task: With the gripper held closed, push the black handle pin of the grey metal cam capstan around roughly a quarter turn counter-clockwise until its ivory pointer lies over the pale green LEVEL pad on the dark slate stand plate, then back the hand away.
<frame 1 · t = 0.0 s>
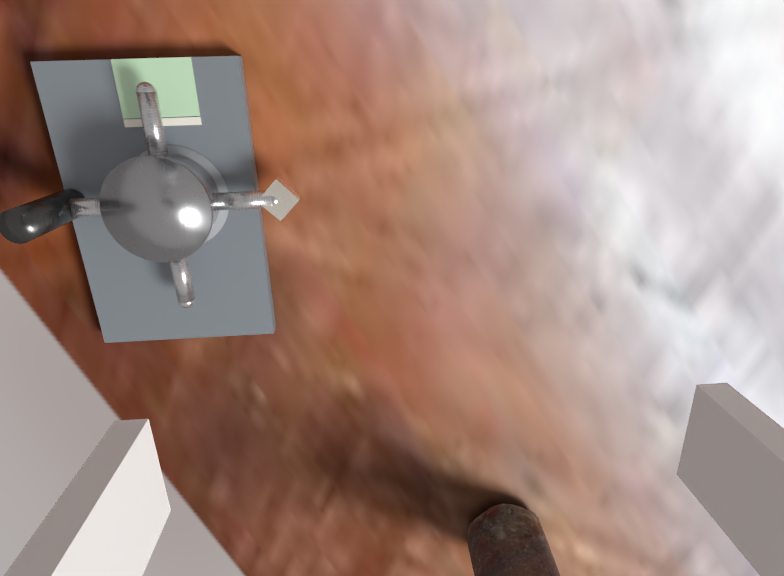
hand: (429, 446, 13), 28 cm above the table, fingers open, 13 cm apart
candle: (499, 522, 51), on the table
stand plate: (171, 208, 38), on the table
cam capstan: (166, 208, 33), point 5 cm above the table, hinge at 0.0°
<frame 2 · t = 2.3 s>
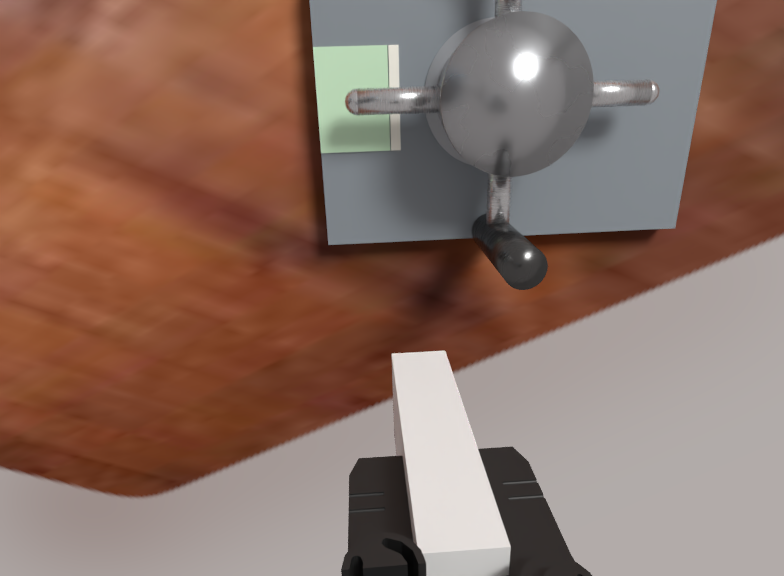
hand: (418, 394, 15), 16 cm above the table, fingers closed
stand plate: (505, 114, 28), on the table
cam capstan: (513, 88, 23), point 5 cm above the table, hinge at 0.0°
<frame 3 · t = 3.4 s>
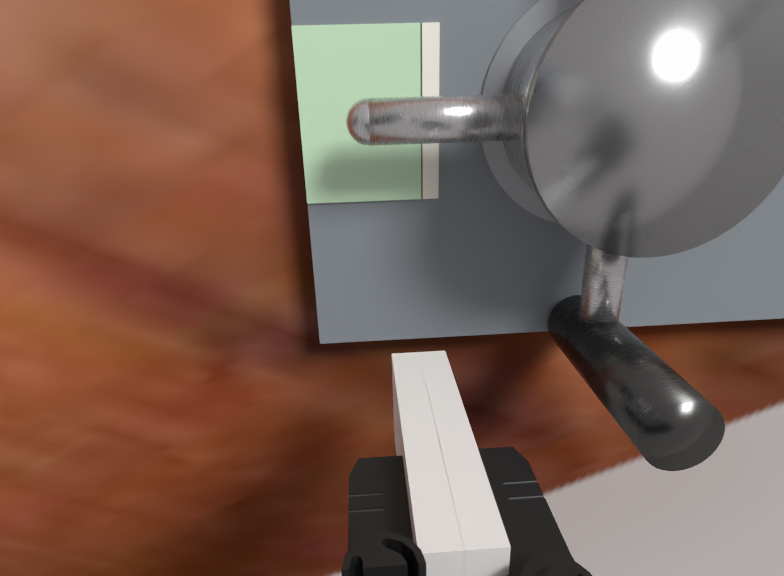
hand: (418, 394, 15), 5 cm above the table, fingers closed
stand plate: (605, 139, 17), on the table
cam capstan: (658, 99, 12), point 5 cm above the table, hinge at 0.0°
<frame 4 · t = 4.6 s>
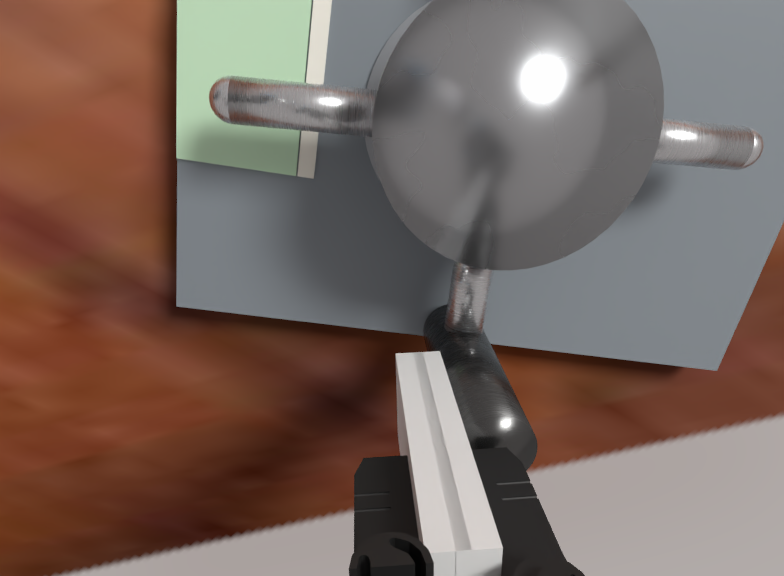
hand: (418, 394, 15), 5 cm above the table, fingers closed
stand plate: (495, 153, 17), on the table
cam capstan: (513, 112, 12), point 5 cm above the table, hinge at 3.8°, touching gripper
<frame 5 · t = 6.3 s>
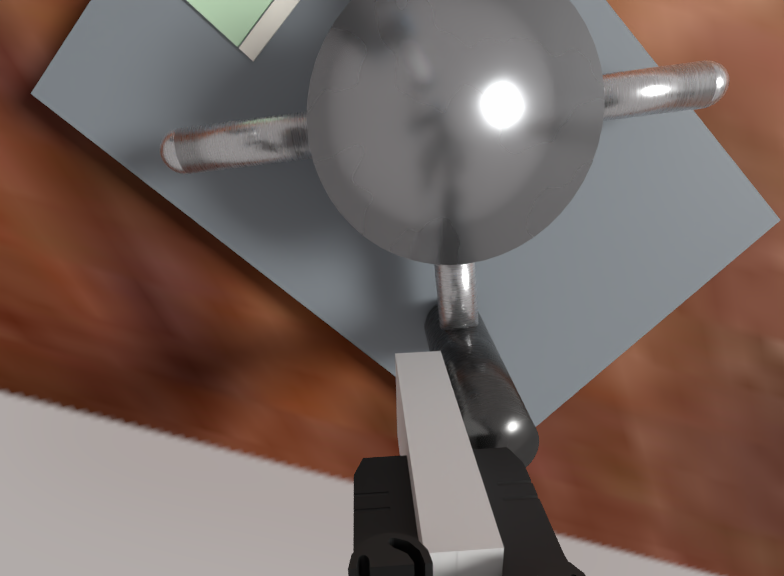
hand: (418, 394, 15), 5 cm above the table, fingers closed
stand plate: (430, 156, 17), on the table
cam capstan: (450, 104, 12), point 5 cm above the table, hinge at 49.5°, touching gripper
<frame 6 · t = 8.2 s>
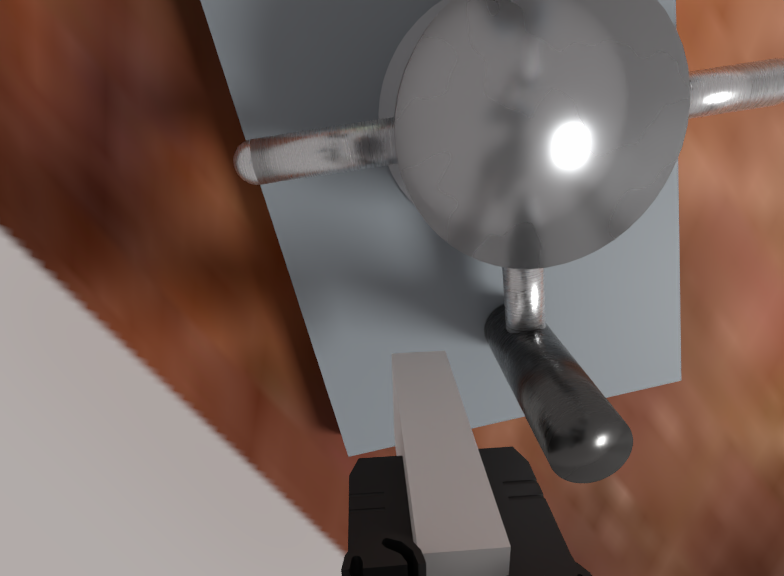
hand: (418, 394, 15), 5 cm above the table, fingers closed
stand plate: (463, 153, 17), on the table
cam capstan: (532, 108, 12), point 5 cm above the table, hinge at 85.3°
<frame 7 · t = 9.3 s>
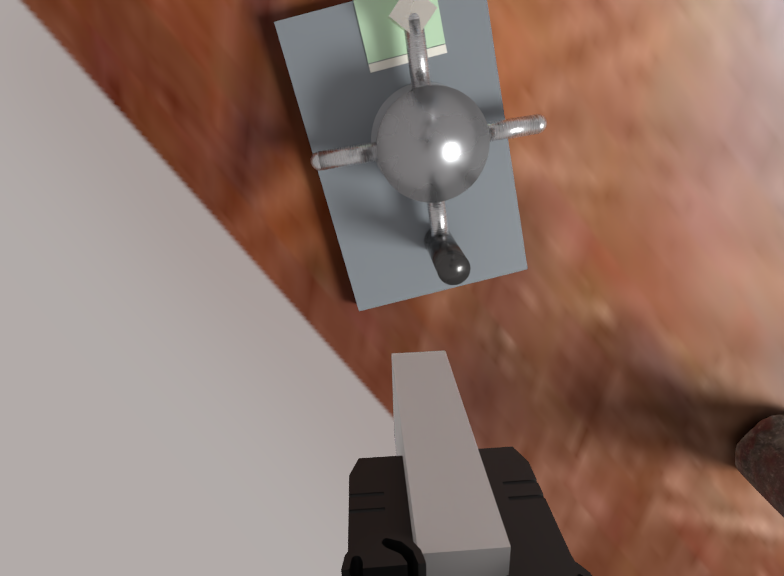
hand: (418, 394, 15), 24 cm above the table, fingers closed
candle: (762, 438, 48), on the table
stand plate: (411, 155, 36), on the table
cam capstan: (430, 138, 31), point 5 cm above the table, hinge at 85.3°
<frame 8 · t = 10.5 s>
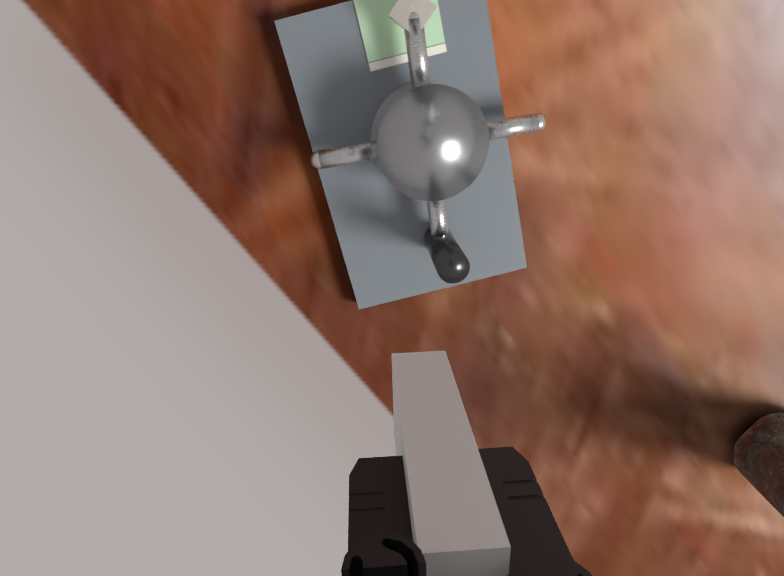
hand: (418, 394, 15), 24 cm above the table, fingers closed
candle: (760, 436, 48), on the table
stand plate: (411, 154, 36), on the table
cam capstan: (430, 136, 31), point 5 cm above the table, hinge at 85.3°
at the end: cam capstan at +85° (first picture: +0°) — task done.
